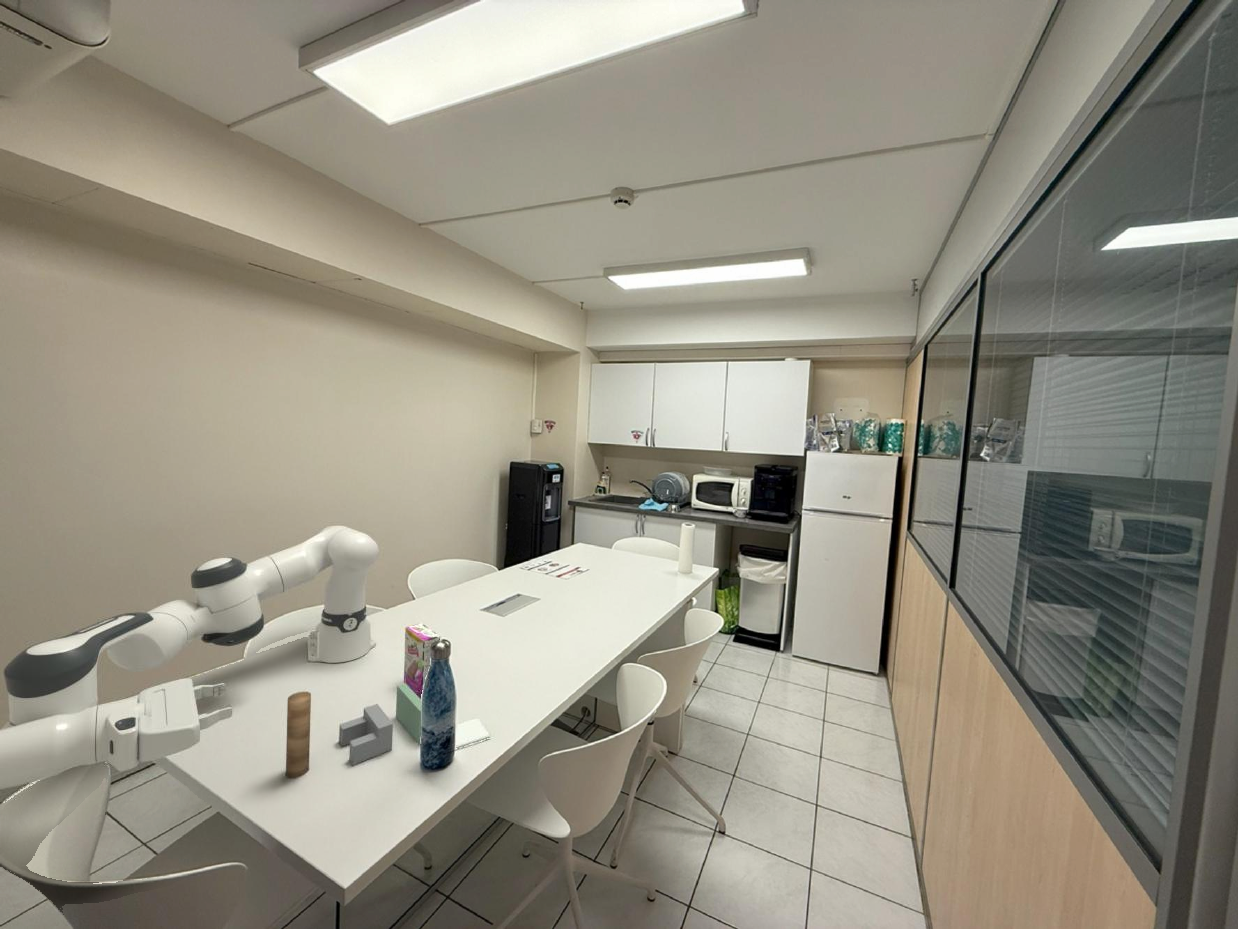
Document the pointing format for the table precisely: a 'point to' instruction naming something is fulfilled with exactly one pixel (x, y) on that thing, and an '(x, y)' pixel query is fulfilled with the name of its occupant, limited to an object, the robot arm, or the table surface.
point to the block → (367, 734)
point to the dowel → (298, 734)
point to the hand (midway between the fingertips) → (228, 699)
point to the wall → (409, 710)
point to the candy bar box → (417, 655)
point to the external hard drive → (470, 733)
